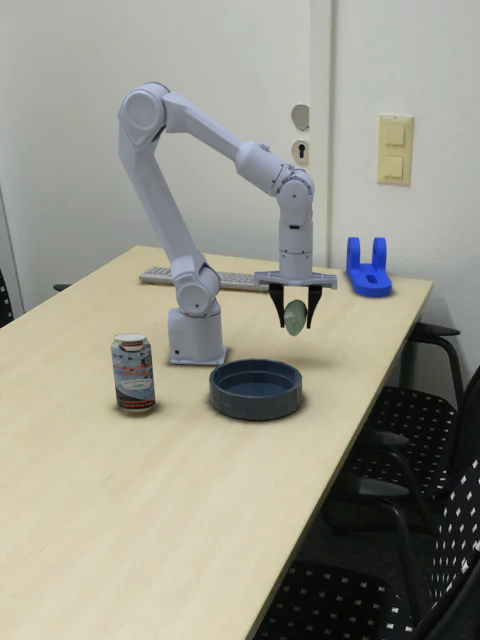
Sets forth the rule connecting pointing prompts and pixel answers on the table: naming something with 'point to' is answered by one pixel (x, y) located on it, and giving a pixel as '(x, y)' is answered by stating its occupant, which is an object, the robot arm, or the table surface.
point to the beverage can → (133, 372)
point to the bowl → (255, 388)
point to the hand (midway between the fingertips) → (295, 326)
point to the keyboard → (226, 277)
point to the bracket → (368, 269)
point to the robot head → (295, 316)
